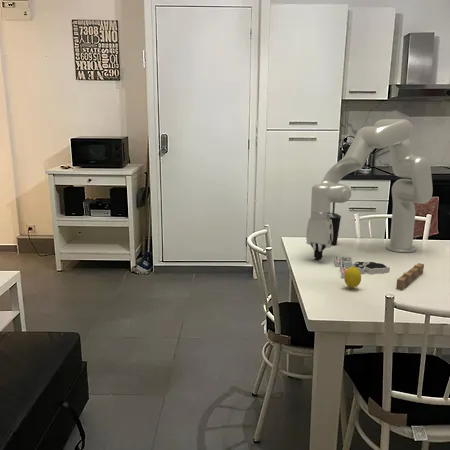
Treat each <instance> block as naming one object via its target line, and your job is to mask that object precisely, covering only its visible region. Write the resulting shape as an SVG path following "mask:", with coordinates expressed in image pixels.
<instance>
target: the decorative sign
mask: <svg viewBox="0 0 450 450" xmlns="http://www.w3.org/2000/svg"><path fill="white" fill-rule="evenodd" d="M334 264H335V265H334V266H335V268H340V274H341V279H343V280H344V275H345V272H346V270H347V269H348V268H350V267H352V266H354V267H356V268H357V269H358V270H359V271H360V273H361V275H365V274H368V275H370V276H371V275H372V276H373V275H377V274H379V275H380V274H381V275H382V274H389V273H390V266H388V265H386V264H384V263H383V262H382V263H381V262H375V261H354V260H353V258H352V257H349V256H347V257H345V256H340V257H339V256H334Z"/></svg>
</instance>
